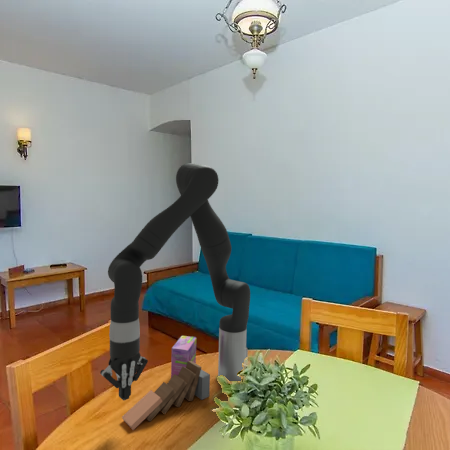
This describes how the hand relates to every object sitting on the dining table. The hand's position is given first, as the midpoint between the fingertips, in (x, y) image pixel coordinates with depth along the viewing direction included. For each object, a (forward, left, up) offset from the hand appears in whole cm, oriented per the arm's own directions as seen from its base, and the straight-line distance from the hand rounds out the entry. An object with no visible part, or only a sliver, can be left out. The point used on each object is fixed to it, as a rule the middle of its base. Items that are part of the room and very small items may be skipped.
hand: (124, 398), depth 94 cm
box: (-28, -11, -8) cm, 31 cm away
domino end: (-1, 0, -7) cm, 7 cm away
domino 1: (-5, 0, -7) cm, 9 cm away
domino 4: (-20, 0, -8) cm, 21 cm away
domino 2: (-10, 0, -7) cm, 13 cm away
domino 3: (-15, 0, -7) cm, 17 cm away
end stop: (-25, 0, -8) cm, 26 cm away
